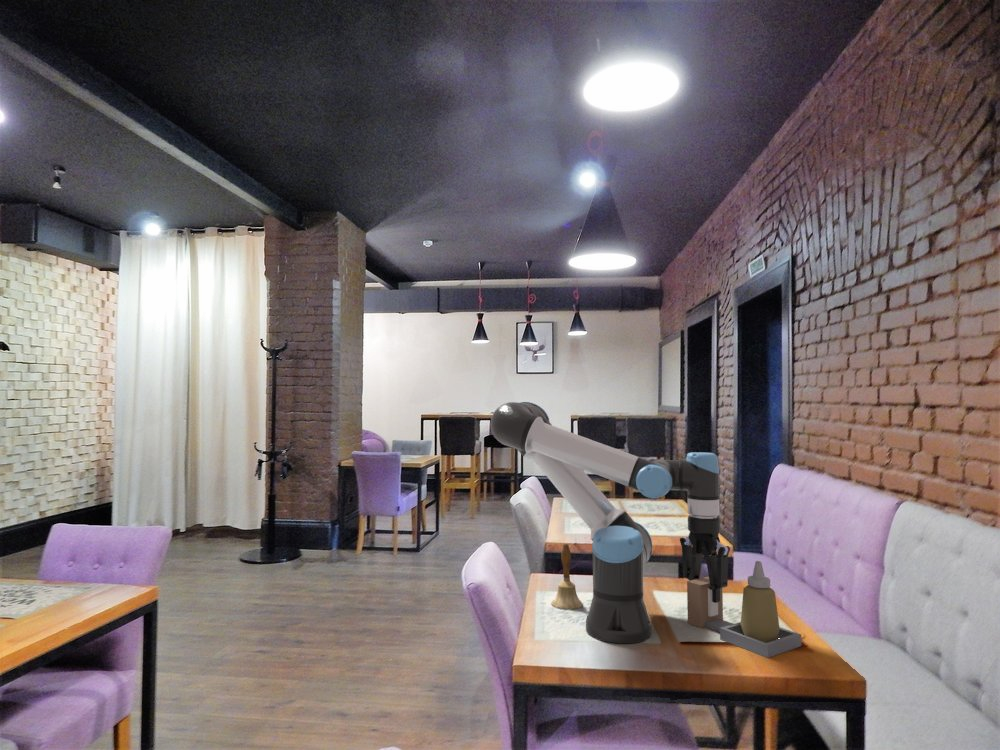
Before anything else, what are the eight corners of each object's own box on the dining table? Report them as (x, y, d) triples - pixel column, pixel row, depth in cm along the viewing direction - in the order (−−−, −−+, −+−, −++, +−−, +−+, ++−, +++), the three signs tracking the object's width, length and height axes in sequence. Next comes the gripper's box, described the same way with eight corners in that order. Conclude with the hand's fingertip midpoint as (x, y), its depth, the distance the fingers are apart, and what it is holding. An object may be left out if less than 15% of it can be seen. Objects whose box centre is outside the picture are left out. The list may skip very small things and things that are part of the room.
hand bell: (572, 611, 156) (572, 549, 157) (545, 605, 161) (545, 544, 162) (588, 603, 163) (587, 543, 164) (561, 597, 168) (561, 539, 168)
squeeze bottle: (738, 646, 133) (737, 563, 134) (742, 634, 140) (741, 555, 141) (779, 653, 130) (777, 568, 131) (781, 640, 137) (779, 559, 138)
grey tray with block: (682, 624, 146) (681, 582, 147) (714, 615, 153) (714, 575, 153) (767, 657, 127) (766, 609, 127) (801, 646, 133) (800, 599, 134)
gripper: (743, 519, 144) (745, 620, 143) (686, 509, 158) (688, 600, 157) (722, 522, 140) (724, 626, 139) (666, 511, 154) (667, 605, 153)
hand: (705, 612), depth 148 cm, fingers closed on grey tray with block, 4 cm apart
